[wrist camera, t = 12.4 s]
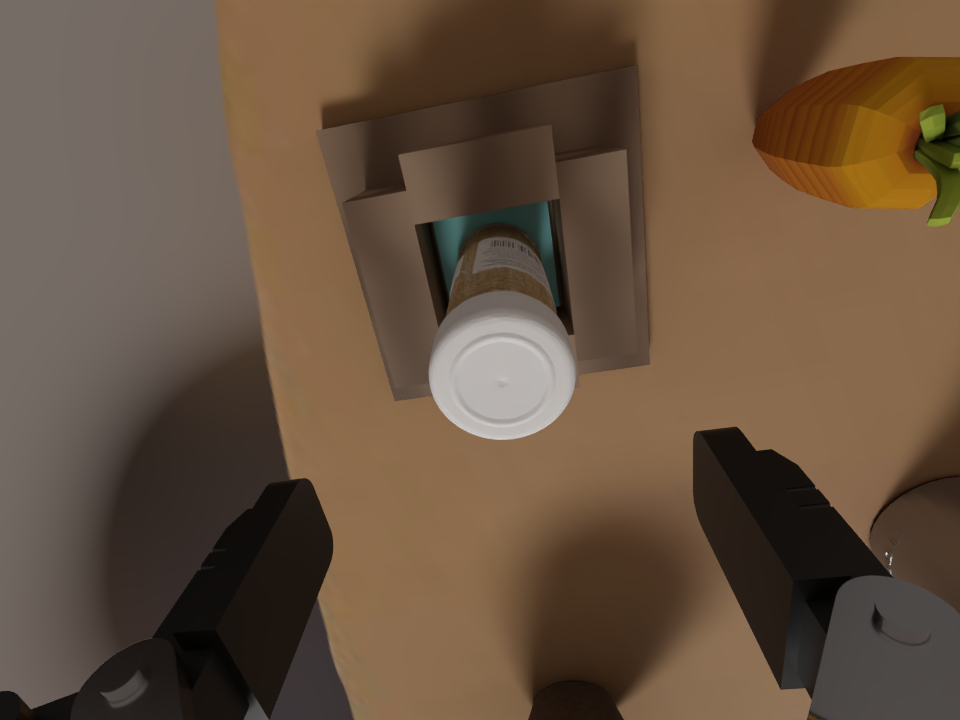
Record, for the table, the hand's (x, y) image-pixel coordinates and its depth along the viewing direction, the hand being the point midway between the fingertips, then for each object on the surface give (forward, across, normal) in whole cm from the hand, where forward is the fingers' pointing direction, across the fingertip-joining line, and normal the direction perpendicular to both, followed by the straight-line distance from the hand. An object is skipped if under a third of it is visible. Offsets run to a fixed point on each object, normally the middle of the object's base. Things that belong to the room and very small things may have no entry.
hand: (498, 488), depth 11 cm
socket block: (+20, 0, 0) cm, 20 cm away
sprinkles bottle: (+19, 0, 0) cm, 19 cm away
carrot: (+21, -14, -4) cm, 25 cm away
